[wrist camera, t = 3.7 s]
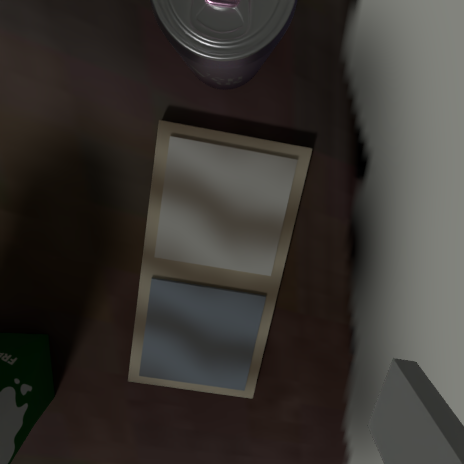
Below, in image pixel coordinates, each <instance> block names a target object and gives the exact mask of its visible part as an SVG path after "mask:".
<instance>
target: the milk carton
mask: <svg viewBox="0 0 464 464" xmlns="http://www.w3.org/2000/svg"><path fill="white" fill-rule="evenodd" d="M54 397H55V393H54V383H53V374H52V365H51V356H50V346H49V337H48V334H24V333H0V464H10V463H11V462H12V460H13V458H14V457H15V455H16V453H17V452H18V450H19V449H20V447H21V445H22V444H23V442H24V441H25V439H26V437H27V436H28V434H29V432H30V431H31V429H32V428H33V426H34V424H35V423H36V422H37V420H38V419H39V418H40V416H41V415H42V413H43V412H44V411H45V409H46V408H47V407H48V405H49V404H50V402H51V401H52V400H53V398H54Z"/></svg>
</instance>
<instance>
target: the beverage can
mask: <svg viewBox="0 0 464 464" xmlns="http://www.w3.org/2000/svg"><path fill="white" fill-rule="evenodd" d="M150 2H151V6H152V10H153V13H154V16H155V19H156V21H157V23H158V25H159V27H160V29H161V31H162V32H163V34H164V35H165V37H166V38H167V40H168V41H169V42H170V43H171V45H172V46H173V47H174V49H175V50H176V51H177V53H178V54H179V55H180V56H181V58H182V59H183V60H184V62H185V63H186V64H187V66H188V67H189V68H190V69H191V71H192V72H193V73H194V75H195V76H196V77H197V78H198V79H199V80H200V81H202V82H203V83H205V84H206V85H208V86H210V87H213V88H216V89H223V90H228V89H234V88H237V87H240V86H242V85H244V84H245V83H247V82H248V81H250V80H251V79H252V78H253V77H254V76H255V74H256V73H257V72H258V70H259V69H260V68H261V66H262V65H263V63H264V62H265V61H266V59H267V58H268V56H269V55H270V54H271V52H272V51H273V49H274V48H275V47H276V45H277V44H278V42H279V41H280V40H281V38H282V37H283V35H284V34H285V32H286V30H287V29H288V27H289V25H290V23H291V20H292V18H293V15H294V12H295V8H296V4H297V0H150Z"/></svg>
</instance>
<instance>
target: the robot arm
mask: <svg viewBox="0 0 464 464" xmlns="http://www.w3.org/2000/svg"><path fill="white" fill-rule="evenodd" d="M367 426H368V428H369V431H370V433H371V435H372V437H373V440H374V442H375V444H376V446H377V448H378V451H379V453H380V456H381V458H382V460H383V462H384V464H464V426H463V425H462V423H461V422H460V421H459V419H458V418H457V417H456V415H455V414H454V413H453V411H452V410H451V409H450V407H449V406H448V404H447V403H446V402H445V400H444V399H443V398H442V396H441V395H440V394H439V392H438V391H437V390H436V388H435V387H434V385H433V384H432V383H431V381H430V380H429V379H428V377H427V376H426V375H425V373H424V372H423V371H422V369H421V368H420V367H419V365H418V364H417V362H414V361H408V360H401V359H394V358H393V360H392V362H391V365H390V367H389V370H388V373H387V375H386V378H385V381H384V383H383V386H382V389H381V391H380V394H379V397H378V399H377V402H376V404H375V407H374V410H373V412H372V415H371V417H370V420H369V423H368V425H367Z"/></svg>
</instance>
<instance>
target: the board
mask: <svg viewBox="0 0 464 464" xmlns="http://www.w3.org/2000/svg"><path fill="white" fill-rule="evenodd" d="M311 153H312V149H311V148H308V147H303V146H298V145H292V144H287V143H282V142H276V141H271V140H266V139H260V138H255V137H250V136H244V135H239V134H234V133H228V132H223V131H218V130H212V129H207V128H202V127H196V126H191V125H186V124H180V123H175V122H170V121H164V120H159V125H158V134H157V142H156V150H155V159H154V167H153V175H152V184H151V192H150V201H149V209H148V217H147V226H146V234H145V242H144V251H143V259H142V267H141V276H140V284H139V293H138V301H137V309H136V318H135V326H134V334H133V343H132V351H131V359H130V368H129V376H128V381H130V382H137V383H145V384H152V385H159V386H166V387H173V388H181V389H188V390H195V391H202V392H209V393H216V394H224V395H231V396H238V397H245V398H253V394H254V390H255V386H256V382H257V378H258V373H259V369H260V365H261V361H262V357H263V353H264V348H265V344H266V340H267V336H268V332H269V328H270V323H271V319H272V315H273V311H274V307H275V303H276V298H277V294H278V290H279V286H280V282H281V278H282V273H283V269H284V265H285V261H286V257H287V253H288V248H289V244H290V240H291V236H292V232H293V228H294V224H295V219H296V215H297V211H298V207H299V203H300V199H301V194H302V190H303V186H304V182H305V178H306V174H307V169H308V165H309V161H310V157H311Z"/></svg>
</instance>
